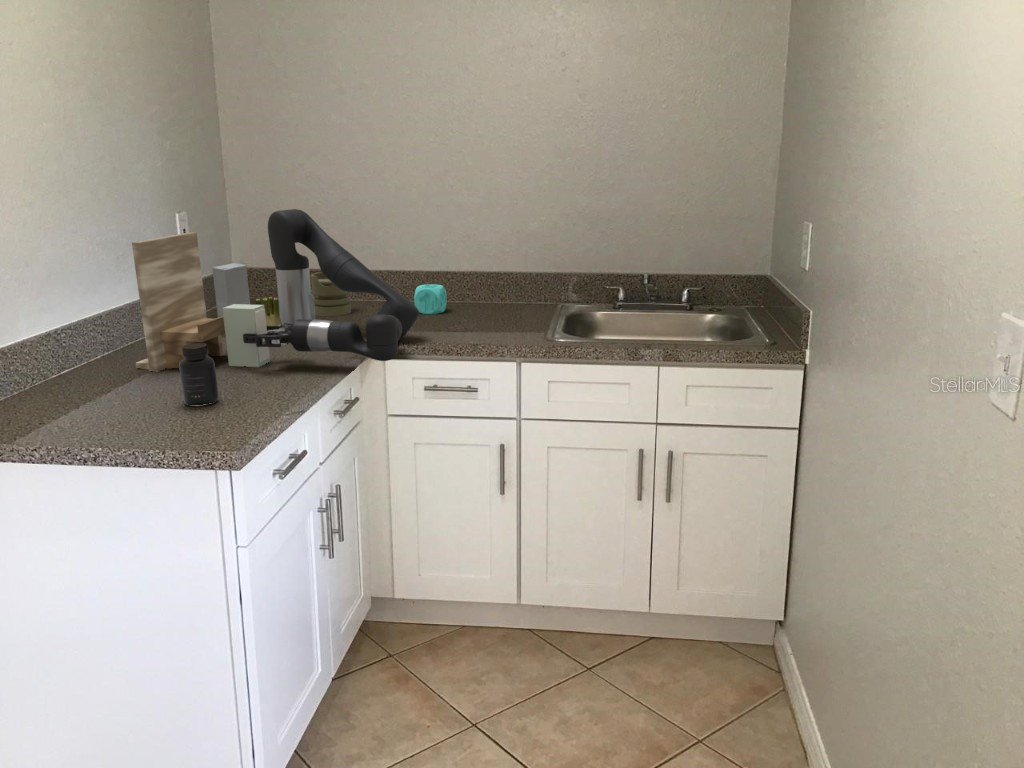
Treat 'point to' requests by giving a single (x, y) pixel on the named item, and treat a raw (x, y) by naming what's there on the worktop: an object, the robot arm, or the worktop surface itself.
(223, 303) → the skincare box
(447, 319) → the worktop surface
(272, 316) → the fennel bulb
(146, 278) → the wooden display stand
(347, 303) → the piston
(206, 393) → the supplement bottle
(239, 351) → the cabinet
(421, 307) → the decorative dice
